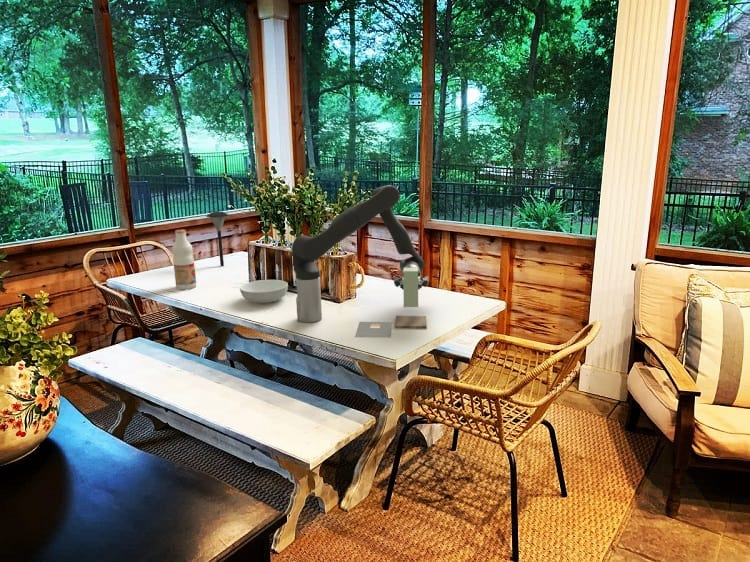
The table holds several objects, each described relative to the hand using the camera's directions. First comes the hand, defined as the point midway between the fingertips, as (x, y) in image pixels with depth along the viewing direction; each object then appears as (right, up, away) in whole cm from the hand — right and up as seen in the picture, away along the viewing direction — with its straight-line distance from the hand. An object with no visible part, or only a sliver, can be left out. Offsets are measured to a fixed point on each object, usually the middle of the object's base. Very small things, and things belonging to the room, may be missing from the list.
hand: (410, 286), depth 212 cm
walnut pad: (0, -14, +6) cm, 15 cm away
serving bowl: (-62, -7, +39) cm, 74 cm away
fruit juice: (-105, -1, +62) cm, 122 cm away
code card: (-14, -16, 0) cm, 21 cm away
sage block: (0, -7, +5) cm, 8 cm away
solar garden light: (-98, +10, +103) cm, 143 cm away
